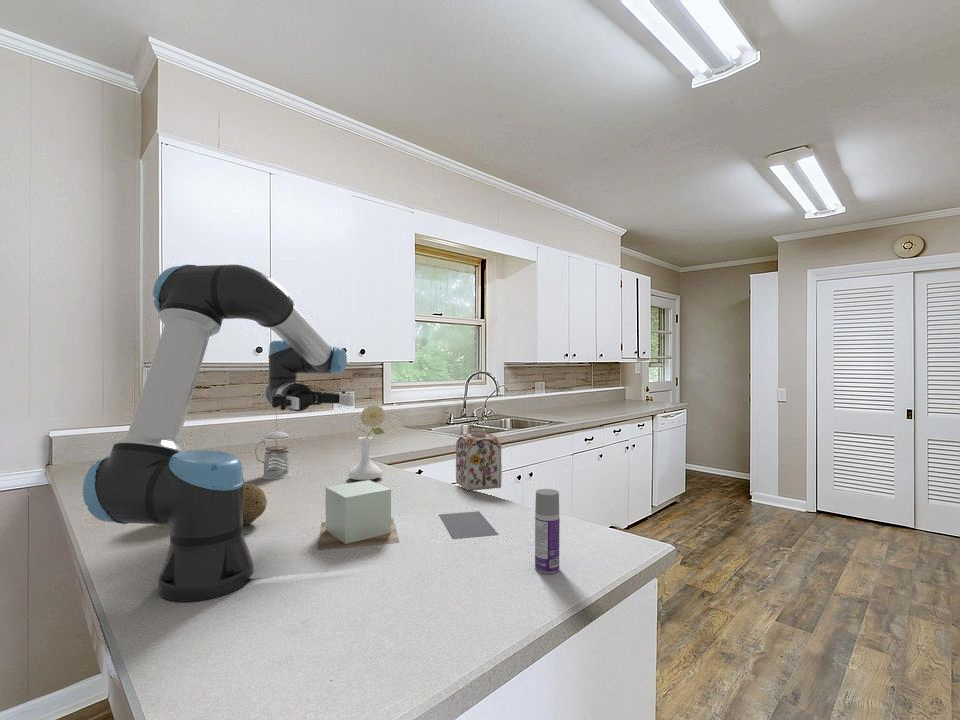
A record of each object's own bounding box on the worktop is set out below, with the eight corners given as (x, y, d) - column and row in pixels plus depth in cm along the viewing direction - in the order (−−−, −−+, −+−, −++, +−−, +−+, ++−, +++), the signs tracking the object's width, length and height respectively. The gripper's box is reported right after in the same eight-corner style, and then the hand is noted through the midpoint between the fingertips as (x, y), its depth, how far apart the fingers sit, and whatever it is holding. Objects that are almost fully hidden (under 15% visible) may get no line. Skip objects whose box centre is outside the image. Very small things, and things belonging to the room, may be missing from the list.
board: (399, 546, 109) (399, 542, 109) (317, 553, 105) (317, 549, 105) (392, 520, 127) (392, 516, 127) (321, 525, 122) (321, 522, 122)
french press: (292, 477, 170) (292, 404, 170) (254, 481, 166) (254, 405, 166) (291, 471, 180) (291, 401, 179) (255, 474, 175) (255, 402, 175)
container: (556, 564, 100) (557, 488, 100) (561, 574, 95) (561, 495, 95) (533, 564, 100) (533, 488, 100) (536, 574, 95) (537, 495, 95)
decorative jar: (455, 482, 165) (455, 427, 165) (488, 479, 169) (488, 425, 169) (467, 491, 154) (467, 432, 154) (502, 488, 158) (502, 430, 158)
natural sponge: (275, 522, 124) (275, 482, 124) (242, 533, 117) (242, 490, 117) (252, 516, 129) (252, 478, 129) (219, 527, 121) (219, 485, 121)
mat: (498, 536, 115) (498, 534, 115) (411, 545, 110) (411, 542, 110) (479, 513, 132) (479, 511, 132) (402, 519, 127) (402, 517, 127)
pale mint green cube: (390, 532, 115) (391, 489, 115) (345, 544, 108) (345, 497, 108) (369, 520, 124) (369, 480, 124) (325, 530, 117) (325, 487, 117)
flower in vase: (341, 482, 165) (341, 405, 165) (357, 474, 176) (357, 402, 176) (378, 484, 162) (378, 406, 162) (392, 476, 173) (392, 403, 173)
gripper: (337, 407, 147) (372, 414, 130) (246, 413, 131) (272, 421, 115) (337, 381, 147) (372, 385, 130) (246, 384, 131) (272, 388, 115)
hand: (325, 402), depth 122 cm, fingers open, 13 cm apart
